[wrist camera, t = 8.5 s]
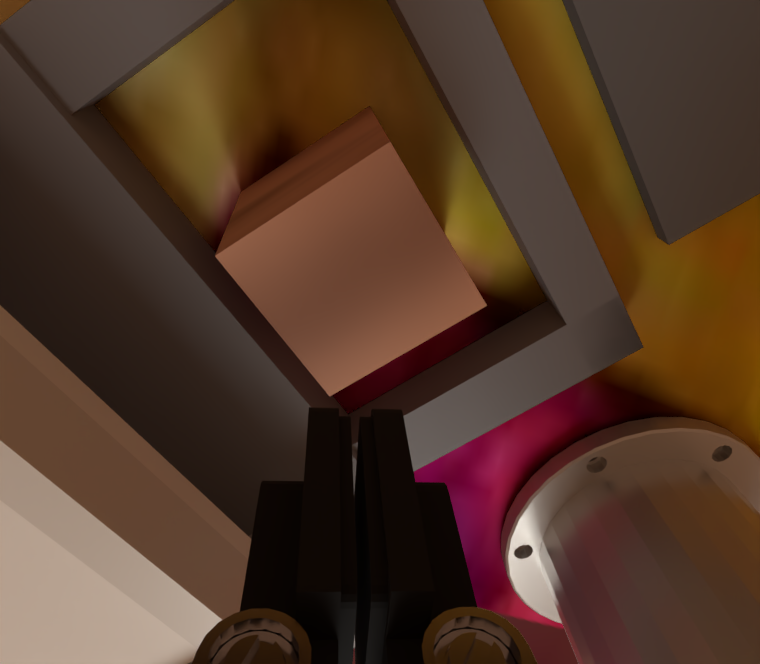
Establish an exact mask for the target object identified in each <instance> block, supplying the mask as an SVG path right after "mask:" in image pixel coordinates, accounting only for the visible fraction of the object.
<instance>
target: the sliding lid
mask: <svg viewBox="0 0 760 664" xmlns="http://www.w3.org/2000/svg"><path fill="white" fill-rule="evenodd" d="M250 545H251V538H250V537H248V536H247V535H246V534H245V533H244V532H243V531H242V530H241V529H240V528H239V527H238V526H237V525H236V524H235V523H233V522H232V521H231V520H230V519H229V518H228V517H227V516H226V515H225V514H224V513H223V512H222V511H221V510H220V509H218V508H217V507H216V506H215V505H214V504H213V503H212V502H211V501H210V500H209V499H208V498H207V497H206V496H204V495H203V494H202V493H201V492H200V491H199V490H198V489H197V488H196V487H195V486H194V485H193V484H192V483H191V482H189V481H188V480H187V479H186V478H185V477H184V476H183V475H182V474H181V473H180V472H179V471H178V470H177V469H176V468H174V467H173V466H172V465H171V464H170V463H169V462H168V461H167V460H166V459H165V458H164V457H163V456H162V455H160V454H159V453H158V452H157V451H156V450H155V449H154V448H153V447H152V446H151V445H150V444H149V443H148V442H147V441H145V440H144V439H143V438H142V437H141V436H140V435H139V434H138V433H137V432H136V431H135V430H134V429H133V428H131V427H130V426H129V425H128V424H127V423H126V422H125V421H124V420H123V419H122V418H121V417H120V416H119V415H118V414H116V413H115V412H114V411H113V410H112V409H111V408H110V407H109V406H108V405H107V404H106V403H105V402H104V401H103V400H101V399H100V398H99V397H98V396H97V395H96V394H95V393H94V392H93V391H92V390H91V389H90V388H89V387H87V386H86V385H85V384H84V383H83V382H82V381H81V380H80V379H79V378H78V377H77V376H76V375H75V374H74V373H72V372H71V371H70V370H69V369H68V368H67V367H66V366H65V365H64V364H63V363H62V362H61V361H60V360H58V359H57V358H56V357H55V356H54V355H53V354H52V353H51V352H50V351H49V350H48V349H47V348H46V347H45V346H43V345H42V344H41V343H40V342H39V341H38V340H37V339H36V338H35V337H34V336H33V335H32V334H31V333H30V332H28V331H27V330H26V329H25V328H24V327H23V326H22V325H21V324H20V323H19V322H18V321H17V320H16V319H14V318H13V317H12V316H11V315H10V314H9V313H8V312H7V311H6V310H5V309H4V308H3V307H2V306H1V305H0V664H188V663H190V662H192V661H193V659H194V657H195V654H196V651H197V649H198V648H199V646H200V644H201V642H202V641H203V639H204V637H205V635H206V634H207V633H208V632H209V631H210V630H211V629H212V628H213V627H214V626H215V625H216V624H217V623H218V622H220V621H222V620H223V619H225V618H227V617H229V616H231V615H232V614H234V613H237V612H240V606H241V600H242V594H243V588H244V582H245V576H246V570H247V563H248V557H249V551H250Z"/></svg>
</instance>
